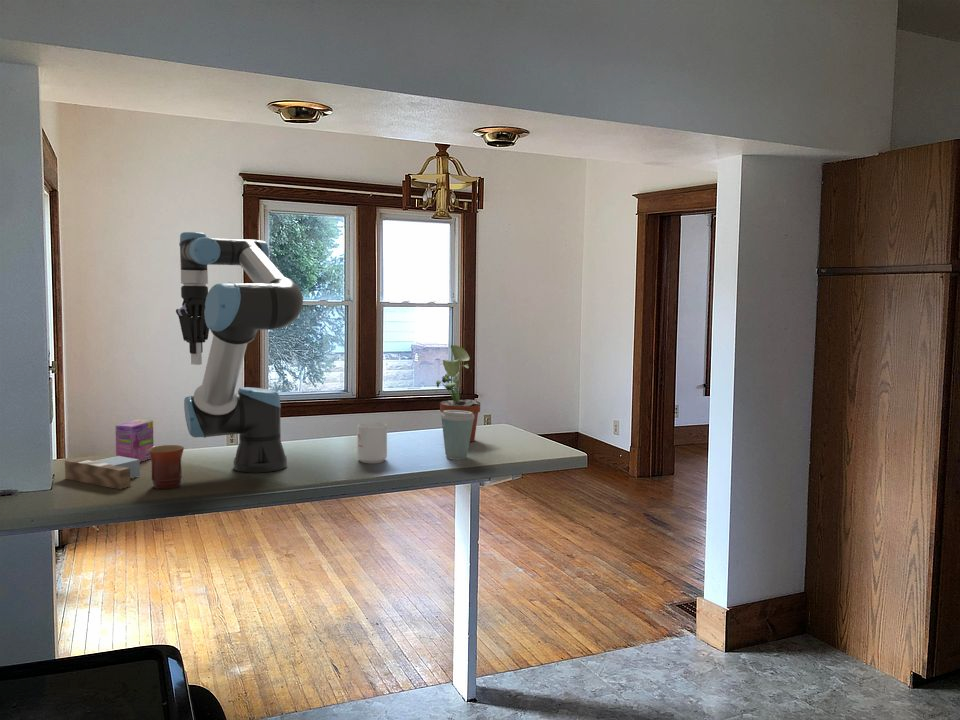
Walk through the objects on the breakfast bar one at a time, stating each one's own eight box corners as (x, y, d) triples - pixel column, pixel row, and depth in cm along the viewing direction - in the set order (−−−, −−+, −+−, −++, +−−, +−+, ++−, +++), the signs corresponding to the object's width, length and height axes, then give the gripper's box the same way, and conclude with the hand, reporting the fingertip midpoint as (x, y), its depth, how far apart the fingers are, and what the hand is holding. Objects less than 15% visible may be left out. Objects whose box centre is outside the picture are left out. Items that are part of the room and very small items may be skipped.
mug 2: (391, 461, 237) (392, 425, 236) (365, 465, 232) (365, 428, 231) (373, 454, 247) (373, 419, 246) (348, 457, 242) (348, 422, 241)
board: (130, 486, 205) (129, 467, 204) (120, 489, 202) (120, 469, 202) (75, 476, 215) (74, 457, 214) (65, 478, 212) (64, 459, 211)
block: (140, 477, 216) (139, 459, 215) (114, 483, 209) (113, 465, 208) (118, 473, 220) (118, 455, 219) (92, 479, 213) (92, 461, 212)
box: (133, 465, 228) (132, 426, 226) (115, 464, 229) (114, 425, 228) (154, 458, 238) (153, 420, 237) (138, 457, 239) (137, 419, 238)
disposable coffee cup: (448, 452, 251) (448, 406, 249) (479, 455, 247) (480, 409, 246) (434, 459, 241) (435, 411, 240) (467, 462, 237) (467, 414, 236)
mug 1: (179, 490, 202) (178, 452, 200) (144, 491, 201) (143, 452, 200) (192, 479, 213) (191, 442, 212) (159, 479, 213) (158, 442, 212)
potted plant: (429, 438, 274) (430, 338, 270) (469, 435, 280) (470, 338, 277) (447, 446, 260) (448, 342, 256) (488, 443, 266) (489, 341, 263)
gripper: (201, 285, 238) (203, 361, 240) (167, 284, 226) (170, 365, 228) (220, 285, 235) (221, 363, 237) (187, 285, 223) (189, 367, 225)
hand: (196, 364), depth 233 cm, fingers closed
